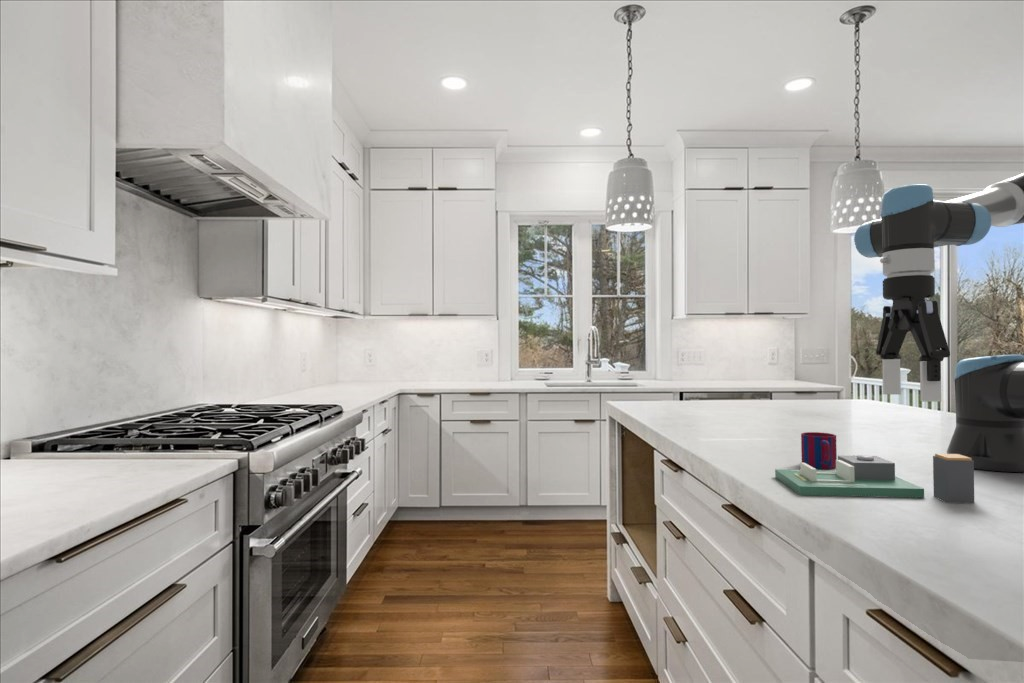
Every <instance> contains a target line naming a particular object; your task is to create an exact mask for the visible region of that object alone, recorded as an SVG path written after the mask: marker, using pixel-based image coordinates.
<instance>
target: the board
mask: <svg viewBox="0 0 1024 683" xmlns="http://www.w3.org/2000/svg"><path fill="white" fill-rule="evenodd" d="M799 468H800V469H779V468H775V469H774V473H775V474H774V476H775V478H776V479H778V480H779V481H780V482H781V483H784V484H785V485H786V486H787V487H789V488H790V489H792V491H794V492H795V493H796V494H798V495H799V496H829V497H830V496H831V497H832V496H833V497H836V496H837V497H872V496H873V497H874V496H889V497H888V498H890V497H891V496H892V497H891V498H918V497H924V498H925V488H923V487H921V486H919V485H916V484H914V483H912V482H910V481H907V480H905V479H903V478H900V477H898V476H896V475H895V480H876V479H855V477H854V466H852V465H850V464H848V463H846V462H844V461H841V460H838V459H837V460H836V468H835V469H816V468H813V467H811V466H810V465H808V464H806V463H802V462H800V463H799ZM874 498H875V497H874Z"/></svg>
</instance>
